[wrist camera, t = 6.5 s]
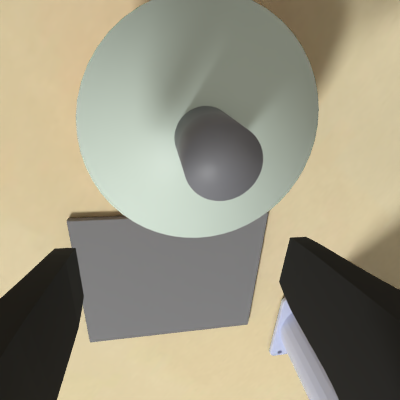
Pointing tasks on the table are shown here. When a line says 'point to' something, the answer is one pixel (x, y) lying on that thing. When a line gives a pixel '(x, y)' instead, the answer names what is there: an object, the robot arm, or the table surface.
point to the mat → (163, 277)
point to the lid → (197, 115)
